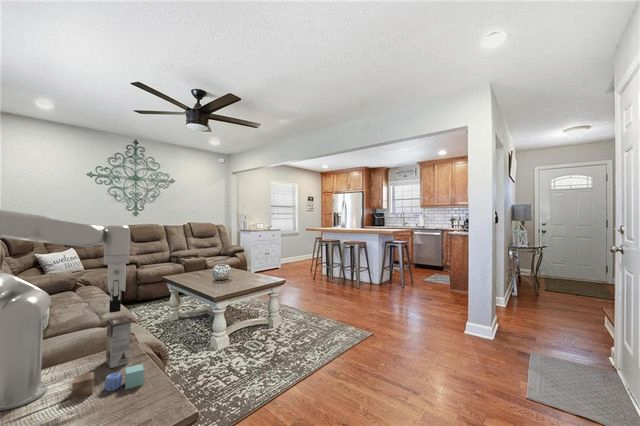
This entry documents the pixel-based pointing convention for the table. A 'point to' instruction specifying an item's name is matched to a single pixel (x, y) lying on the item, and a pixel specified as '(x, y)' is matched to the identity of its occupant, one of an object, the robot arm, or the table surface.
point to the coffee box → (118, 341)
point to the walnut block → (82, 385)
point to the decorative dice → (113, 381)
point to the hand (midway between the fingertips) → (114, 310)
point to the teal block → (134, 376)
